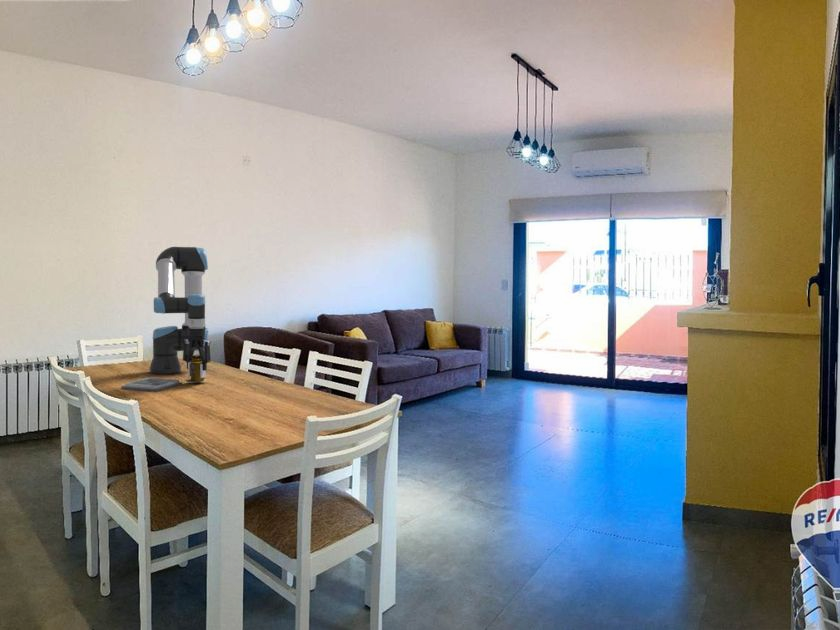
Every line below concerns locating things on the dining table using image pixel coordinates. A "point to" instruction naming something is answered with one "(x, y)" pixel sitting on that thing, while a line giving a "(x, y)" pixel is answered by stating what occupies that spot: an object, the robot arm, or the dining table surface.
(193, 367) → the condiment
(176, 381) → the grey square tray
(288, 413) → the dining table surface
